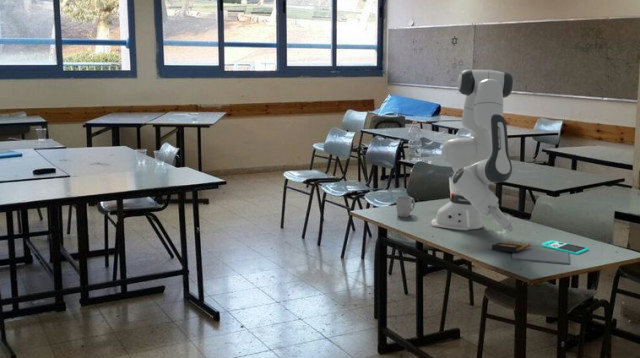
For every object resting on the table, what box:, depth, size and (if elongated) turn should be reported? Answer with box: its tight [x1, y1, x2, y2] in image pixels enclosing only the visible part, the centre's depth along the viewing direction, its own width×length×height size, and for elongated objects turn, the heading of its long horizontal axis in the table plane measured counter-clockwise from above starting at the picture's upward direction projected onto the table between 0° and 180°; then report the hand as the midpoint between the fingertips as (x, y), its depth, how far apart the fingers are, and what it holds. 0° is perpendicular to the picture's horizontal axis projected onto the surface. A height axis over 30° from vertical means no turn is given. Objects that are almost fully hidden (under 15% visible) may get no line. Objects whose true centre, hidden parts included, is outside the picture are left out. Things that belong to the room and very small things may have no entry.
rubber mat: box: [511, 248, 571, 265], centre depth 253 cm, size 20×14×1 cm
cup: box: [395, 195, 416, 218], centre depth 315 cm, size 8×10×8 cm
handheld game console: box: [541, 239, 590, 256], centre depth 264 cm, size 10×16×1 cm, turn 43°
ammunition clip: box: [491, 241, 532, 253], centre depth 261 cm, size 11×2×12 cm
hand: (511, 229), depth 255 cm, fingers closed
